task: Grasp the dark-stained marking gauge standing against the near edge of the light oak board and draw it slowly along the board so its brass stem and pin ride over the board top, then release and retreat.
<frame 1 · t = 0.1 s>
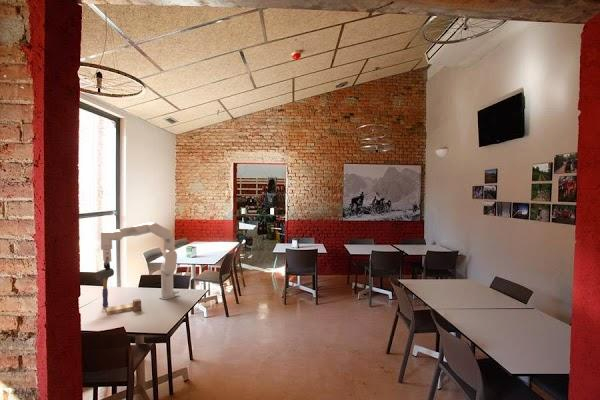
hand: (106, 268, 251), 31 cm above the table, fingers open, 9 cm apart
rubber mallet: (105, 306, 256), on the table
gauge: (137, 310, 247), on the table
board: (123, 309, 249), on the table
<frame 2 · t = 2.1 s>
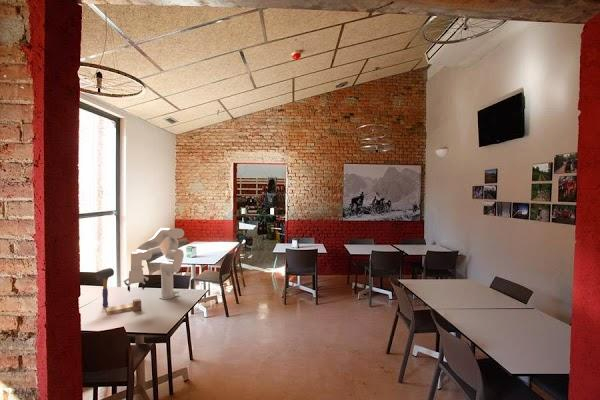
hand: (136, 290, 246), 16 cm above the table, fingers open, 9 cm apart
nothing on the table moved.
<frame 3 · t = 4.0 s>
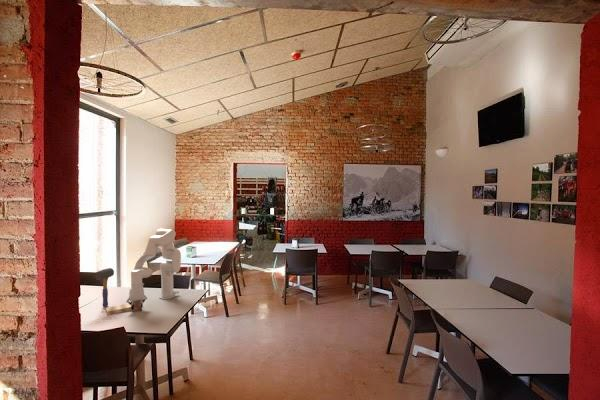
hand: (137, 309, 247), 1 cm above the table, fingers closed on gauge, 5 cm apart
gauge: (137, 310, 247), on the table, touching gripper
everything else where it was.
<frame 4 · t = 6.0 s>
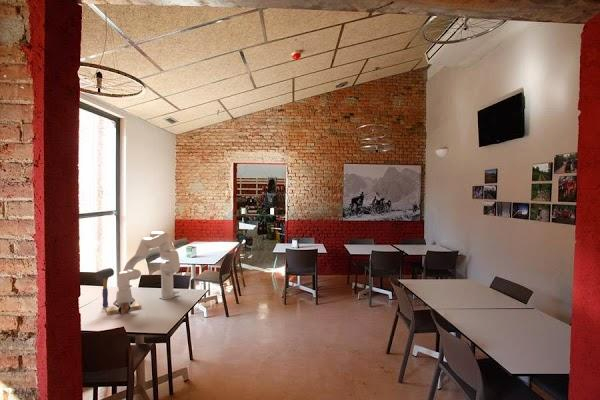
hand: (124, 311, 242), 1 cm above the table, fingers closed on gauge, 5 cm apart
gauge: (124, 312, 242), on the table, touching gripper
everything else where it was.
when the fingers open (1 cm above the table, at t = 8.4 s): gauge stays where it is, on the table.
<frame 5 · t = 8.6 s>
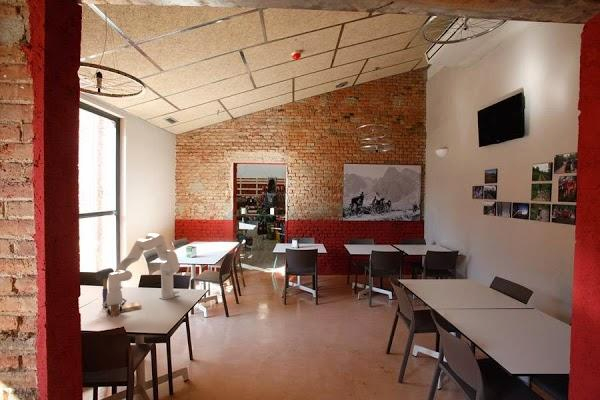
hand: (114, 312, 239), 1 cm above the table, fingers open, 6 cm apart
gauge: (115, 314, 239), on the table
everything else where it was.
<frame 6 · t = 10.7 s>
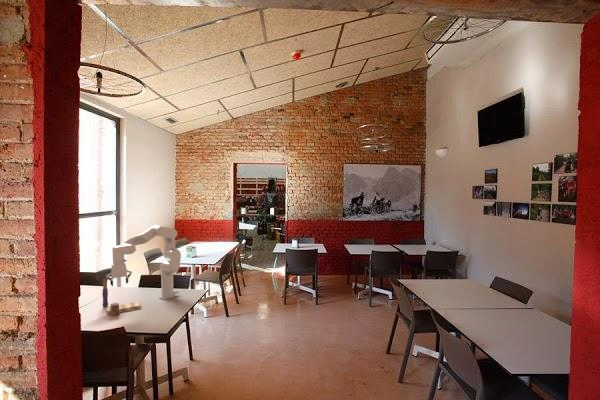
hand: (119, 284, 243), 21 cm above the table, fingers open, 9 cm apart
nothing on the table moved.
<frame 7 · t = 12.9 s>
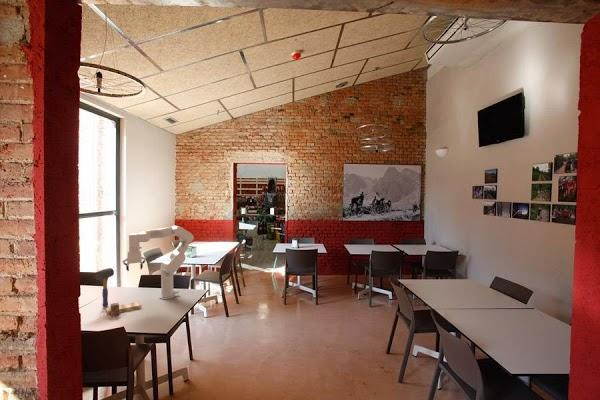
hand: (134, 269, 259), 28 cm above the table, fingers open, 9 cm apart
nothing on the table moved.
at the end: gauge moved 14.9 cm from its start; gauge inside the target area (0.8 cm from its centre), on the table; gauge tilted 0° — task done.
